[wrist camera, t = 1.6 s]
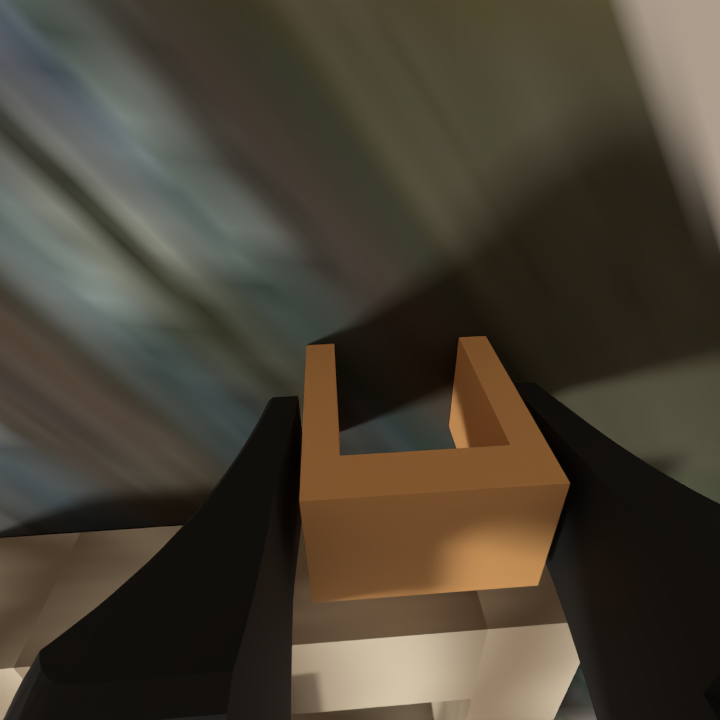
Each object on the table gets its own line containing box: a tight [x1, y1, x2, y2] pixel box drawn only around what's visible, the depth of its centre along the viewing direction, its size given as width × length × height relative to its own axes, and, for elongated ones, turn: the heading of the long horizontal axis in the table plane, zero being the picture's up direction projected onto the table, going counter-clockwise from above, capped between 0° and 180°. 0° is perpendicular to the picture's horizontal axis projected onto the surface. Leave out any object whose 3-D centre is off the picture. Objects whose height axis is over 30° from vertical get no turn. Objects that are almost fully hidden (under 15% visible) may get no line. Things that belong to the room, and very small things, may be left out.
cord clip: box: [299, 336, 570, 603], centre depth 11 cm, size 5×3×5 cm, turn 91°
